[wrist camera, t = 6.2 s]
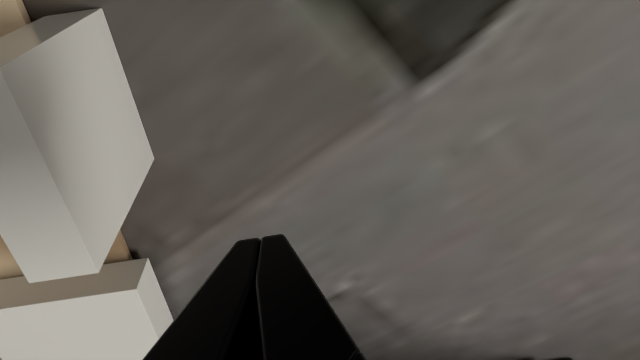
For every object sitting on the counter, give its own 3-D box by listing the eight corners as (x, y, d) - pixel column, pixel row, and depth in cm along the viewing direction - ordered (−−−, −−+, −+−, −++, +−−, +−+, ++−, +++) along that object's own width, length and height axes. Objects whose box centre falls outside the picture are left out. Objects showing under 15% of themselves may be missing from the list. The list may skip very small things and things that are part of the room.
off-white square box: (177, 381, 23) (32, 402, 23) (184, 344, 24) (51, 364, 24) (136, 289, 19) (-32, 313, 20) (148, 255, 21) (-5, 278, 21)
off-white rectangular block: (154, 158, 19) (98, 273, 13) (102, 166, 19) (23, 283, 13) (101, 7, 16) (-1, 67, 10) (40, 16, 16) (-98, 82, 10)
